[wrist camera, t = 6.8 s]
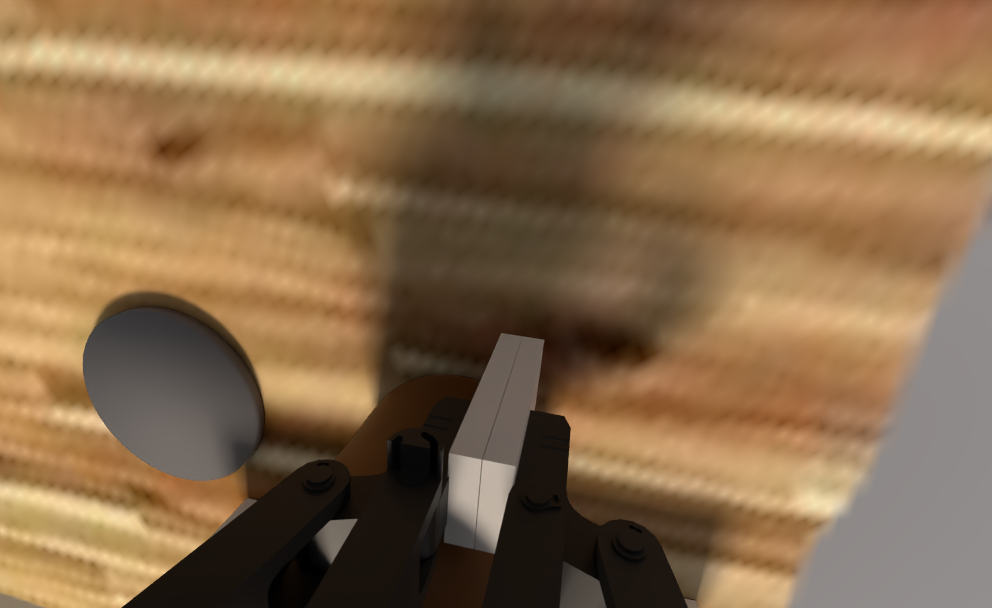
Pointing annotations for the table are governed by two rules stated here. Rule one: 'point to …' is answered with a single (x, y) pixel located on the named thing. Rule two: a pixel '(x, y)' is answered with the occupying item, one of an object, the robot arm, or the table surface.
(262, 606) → the robot arm
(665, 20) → the table surface
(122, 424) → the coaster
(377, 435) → the mug
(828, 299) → the table surface
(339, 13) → the table surface
